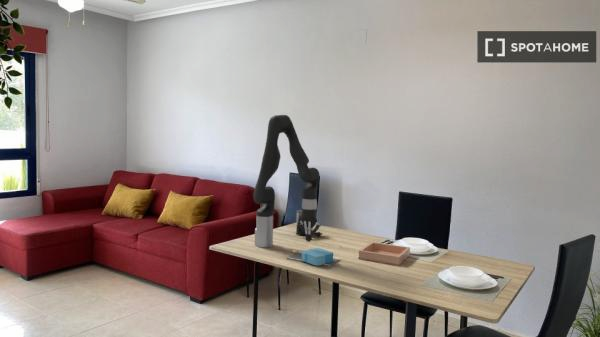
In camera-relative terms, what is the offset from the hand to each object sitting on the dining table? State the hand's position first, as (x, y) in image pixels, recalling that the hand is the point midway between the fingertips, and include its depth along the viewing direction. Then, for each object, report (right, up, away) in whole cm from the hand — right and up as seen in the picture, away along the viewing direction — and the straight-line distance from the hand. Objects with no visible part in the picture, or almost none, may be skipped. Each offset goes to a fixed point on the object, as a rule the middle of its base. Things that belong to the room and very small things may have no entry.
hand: (308, 241), depth 229 cm
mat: (+2, -9, 0) cm, 10 cm away
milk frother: (+1, -5, +50) cm, 50 cm away
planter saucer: (+40, -9, +6) cm, 41 cm away
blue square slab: (0, -6, 0) cm, 6 cm away
